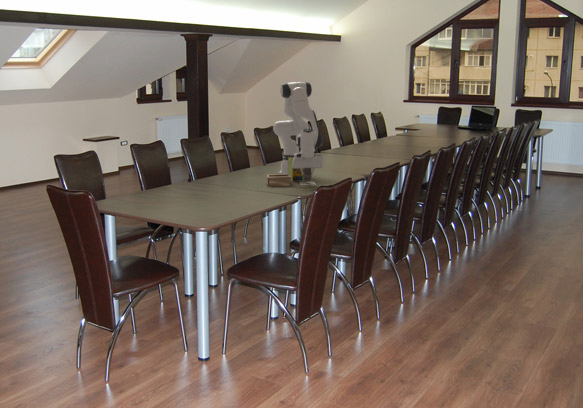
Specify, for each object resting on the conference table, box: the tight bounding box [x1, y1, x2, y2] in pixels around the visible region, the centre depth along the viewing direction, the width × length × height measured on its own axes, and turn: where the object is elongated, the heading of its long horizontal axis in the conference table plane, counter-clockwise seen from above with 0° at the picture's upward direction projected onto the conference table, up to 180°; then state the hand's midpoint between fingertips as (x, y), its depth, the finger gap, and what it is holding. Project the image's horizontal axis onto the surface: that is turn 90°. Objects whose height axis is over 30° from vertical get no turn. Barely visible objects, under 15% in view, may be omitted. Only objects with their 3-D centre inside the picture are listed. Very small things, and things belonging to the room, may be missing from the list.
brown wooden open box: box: [266, 173, 292, 187], centre depth 428 cm, size 12×15×6 cm
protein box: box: [288, 157, 306, 182], centre depth 446 cm, size 10×15×16 cm
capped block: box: [304, 168, 312, 182], centre depth 428 cm, size 6×4×8 cm
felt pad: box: [298, 181, 317, 187], centre depth 430 cm, size 12×10×1 cm
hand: (307, 174), depth 429 cm, fingers closed on capped block, 4 cm apart
